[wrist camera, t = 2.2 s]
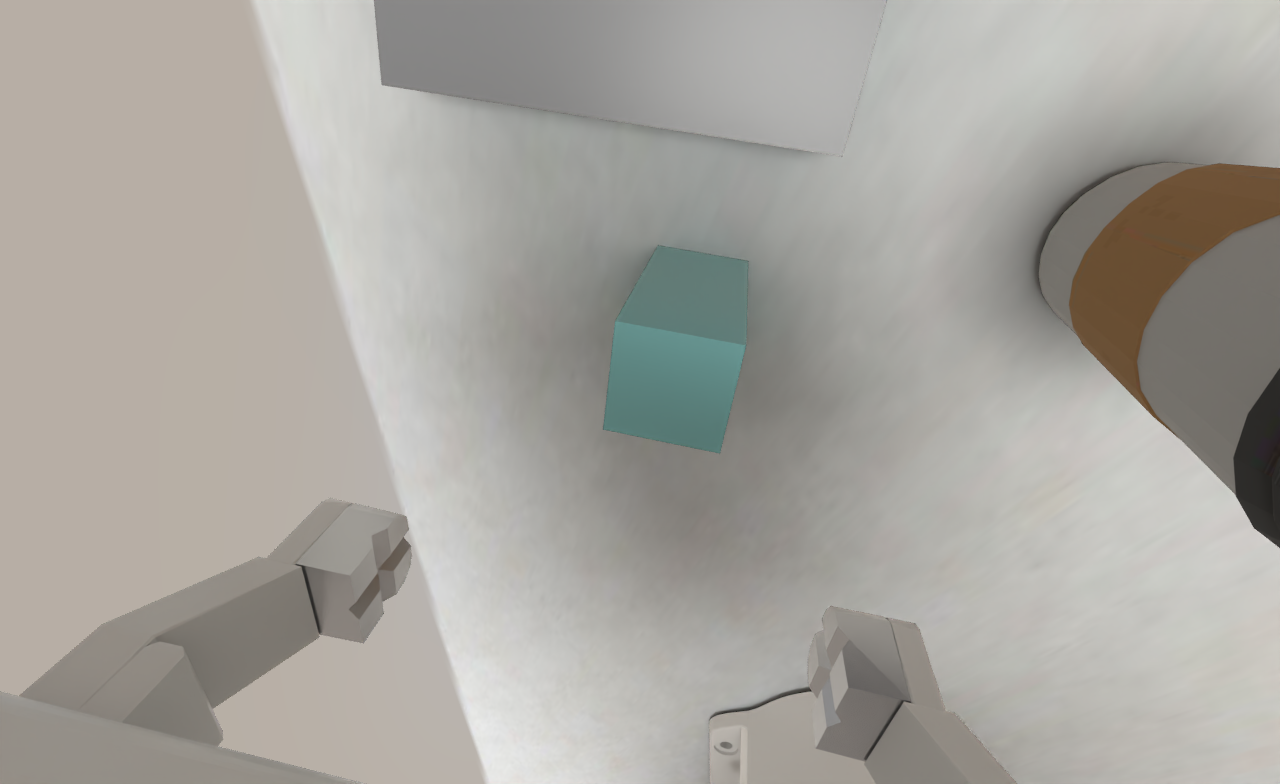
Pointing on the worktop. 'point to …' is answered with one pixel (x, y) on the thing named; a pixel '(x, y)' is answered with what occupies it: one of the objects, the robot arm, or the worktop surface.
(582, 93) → the socket
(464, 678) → the worktop surface
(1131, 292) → the coffee cup
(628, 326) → the plug
